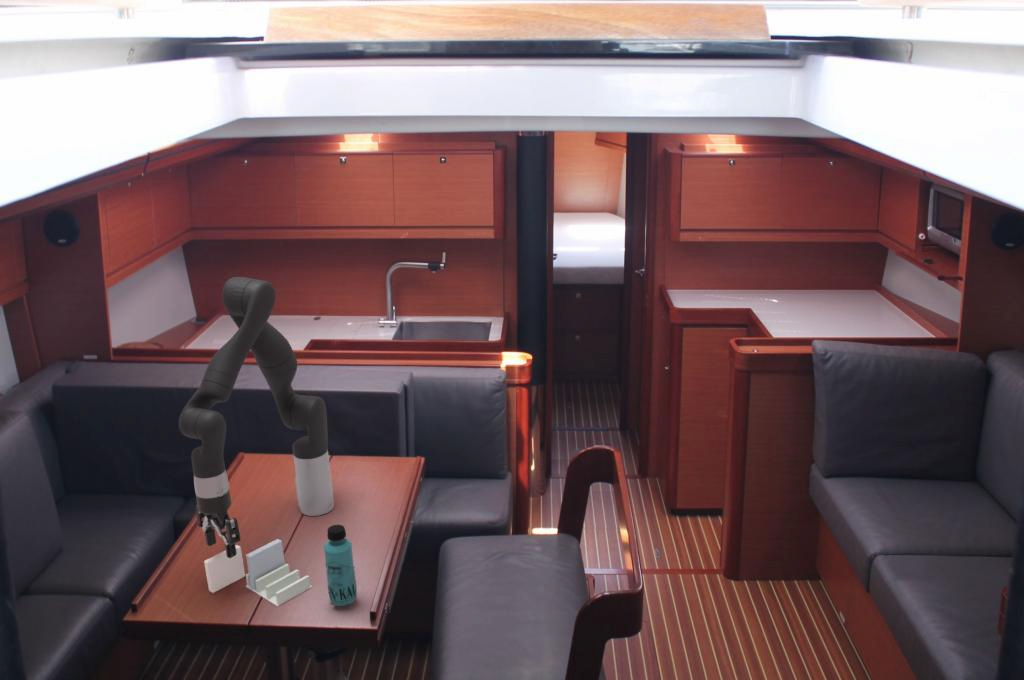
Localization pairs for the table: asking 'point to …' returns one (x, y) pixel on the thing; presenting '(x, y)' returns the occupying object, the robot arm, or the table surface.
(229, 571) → the plate
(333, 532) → the beverage bottle
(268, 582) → the rack
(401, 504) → the table surface
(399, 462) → the table surface
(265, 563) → the plate
